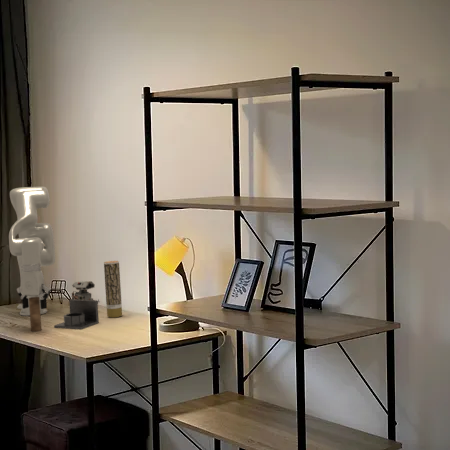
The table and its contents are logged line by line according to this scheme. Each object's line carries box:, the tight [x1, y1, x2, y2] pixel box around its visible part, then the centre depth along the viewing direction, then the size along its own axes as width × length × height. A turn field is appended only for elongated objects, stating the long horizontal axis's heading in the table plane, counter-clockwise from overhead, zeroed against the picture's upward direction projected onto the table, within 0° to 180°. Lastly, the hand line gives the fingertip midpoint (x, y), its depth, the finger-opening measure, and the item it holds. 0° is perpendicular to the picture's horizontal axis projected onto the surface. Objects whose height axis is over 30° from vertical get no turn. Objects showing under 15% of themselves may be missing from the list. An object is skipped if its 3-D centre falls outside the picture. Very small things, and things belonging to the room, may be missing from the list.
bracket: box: [53, 298, 99, 330], centre depth 357 cm, size 13×14×10 cm
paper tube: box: [103, 260, 123, 319], centre depth 372 cm, size 7×7×25 cm
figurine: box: [71, 280, 100, 304], centre depth 385 cm, size 9×12×15 cm
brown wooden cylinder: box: [29, 297, 42, 332], centre depth 351 cm, size 4×4×14 cm
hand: (34, 308), depth 350 cm, fingers open, 9 cm apart
